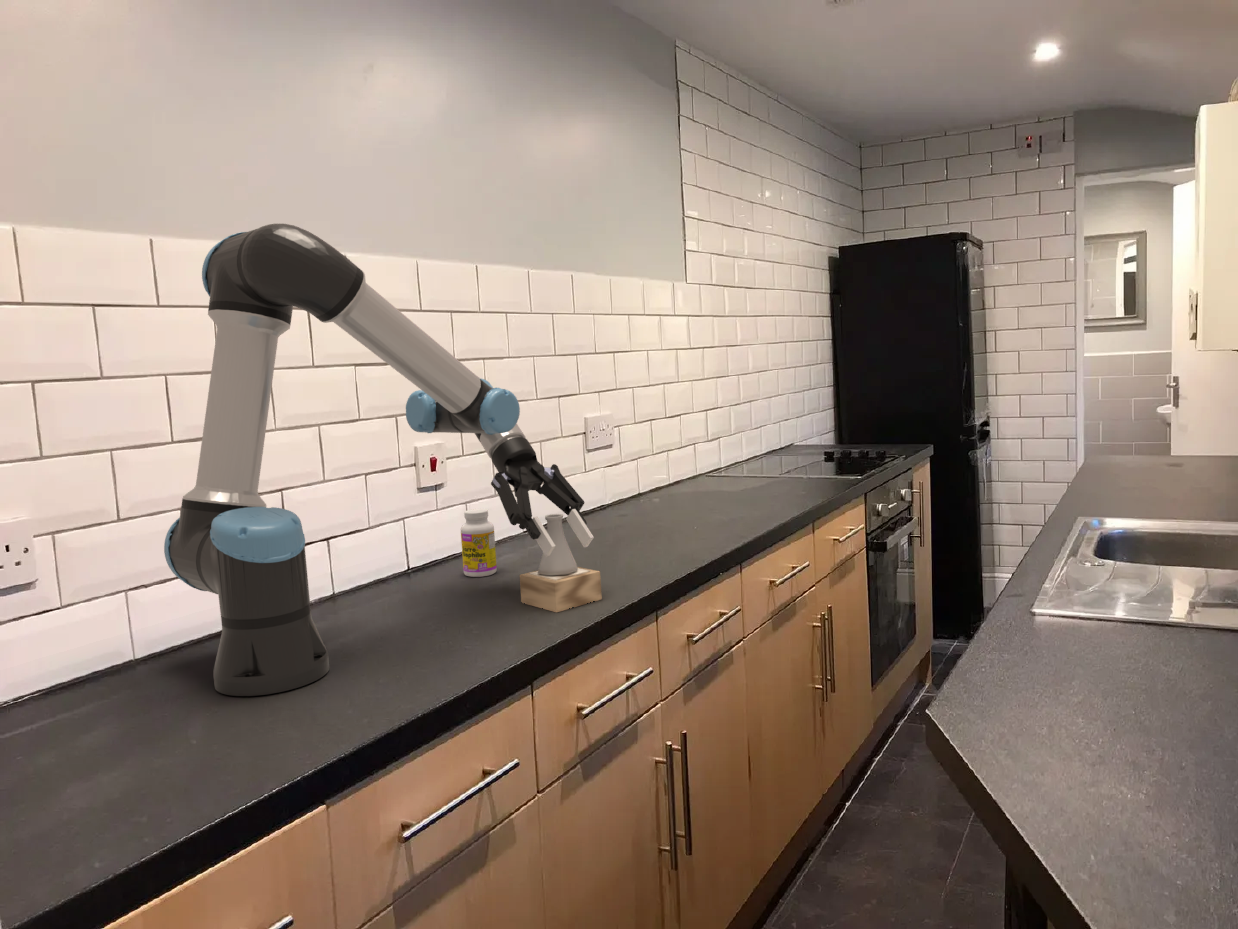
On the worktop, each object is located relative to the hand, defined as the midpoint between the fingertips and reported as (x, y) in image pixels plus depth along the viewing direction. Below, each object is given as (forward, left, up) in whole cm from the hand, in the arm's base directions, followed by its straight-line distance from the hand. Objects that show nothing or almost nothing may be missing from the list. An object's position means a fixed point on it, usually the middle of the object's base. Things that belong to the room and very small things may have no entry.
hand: (570, 546), depth 156 cm
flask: (0, +4, -5) cm, 6 cm away
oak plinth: (0, +3, -10) cm, 11 cm away
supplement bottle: (+3, +33, -10) cm, 35 cm away
